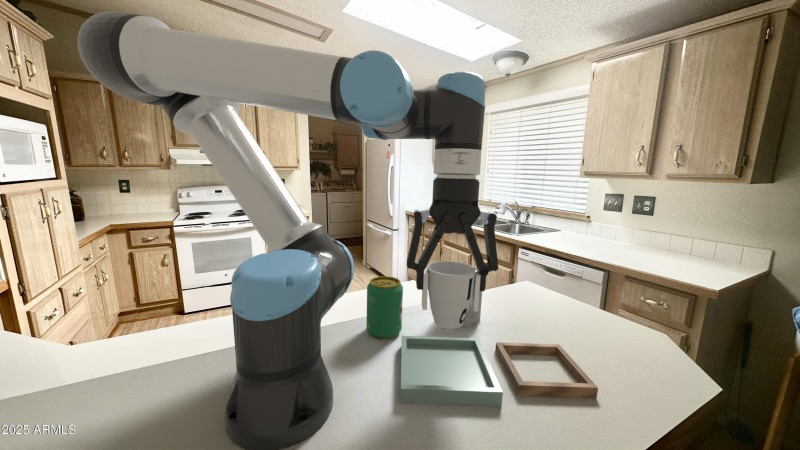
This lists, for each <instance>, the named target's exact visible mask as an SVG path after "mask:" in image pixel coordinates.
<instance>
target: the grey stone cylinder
mask: <svg viewBox="0 0 800 450" xmlns="http://www.w3.org/2000/svg"><path fill="white" fill-rule="evenodd" d="M474 268H475V270H477V271H478V269H477V267H474ZM482 298H483V291H479V304H478V311H473V309H472V307H471V305H469V309H468V312H467V315H466V317H465V320H464V322H463V324H462V326H461V327H460V328H473V327H476V326H478V325H479V324H480V323H481V313H482V300H483V299H482ZM470 302H471V301H470Z"/></svg>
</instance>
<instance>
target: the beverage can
mask: <svg viewBox="0 0 800 450" xmlns="http://www.w3.org/2000/svg"><path fill="white" fill-rule="evenodd" d="M403 295H404V286H403V285H402V282H401V280H400V279H399V278H397V277H393V276H387V275H386V276H381V275H380V276H376V277H373V278H370V280H369V283H368V284H367V286H366V331H367V333H368V335H369V336H370V337H371V338H373V339H376V340H380V341H387V340H392V339H395V338H397V337H398V336H399V335H400V332H401V331H402V328H403V325H402V324H403V297H404V296H403Z"/></svg>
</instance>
